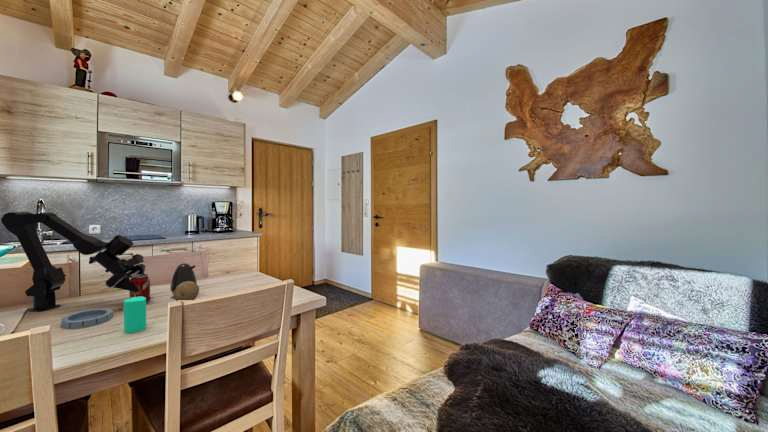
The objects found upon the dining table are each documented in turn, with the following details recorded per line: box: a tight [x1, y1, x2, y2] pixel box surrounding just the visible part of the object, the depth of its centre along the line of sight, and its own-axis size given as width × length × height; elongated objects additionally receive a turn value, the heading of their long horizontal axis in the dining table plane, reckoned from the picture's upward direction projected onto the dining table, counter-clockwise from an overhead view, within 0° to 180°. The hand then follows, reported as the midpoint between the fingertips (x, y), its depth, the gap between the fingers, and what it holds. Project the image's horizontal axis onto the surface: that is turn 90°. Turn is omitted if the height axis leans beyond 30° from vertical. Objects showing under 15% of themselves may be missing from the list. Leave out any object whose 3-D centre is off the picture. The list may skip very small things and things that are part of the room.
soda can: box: [129, 273, 151, 304], centre depth 125 cm, size 7×7×12 cm
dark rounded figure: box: [170, 262, 198, 295], centre depth 136 cm, size 10×10×15 cm
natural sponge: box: [172, 281, 200, 302], centre depth 126 cm, size 9×9×10 cm
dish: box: [60, 307, 114, 330], centre depth 107 cm, size 13×13×2 cm
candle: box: [123, 296, 147, 334], centre depth 102 cm, size 6×6×12 cm
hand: (143, 288), depth 126 cm, fingers open, 9 cm apart
